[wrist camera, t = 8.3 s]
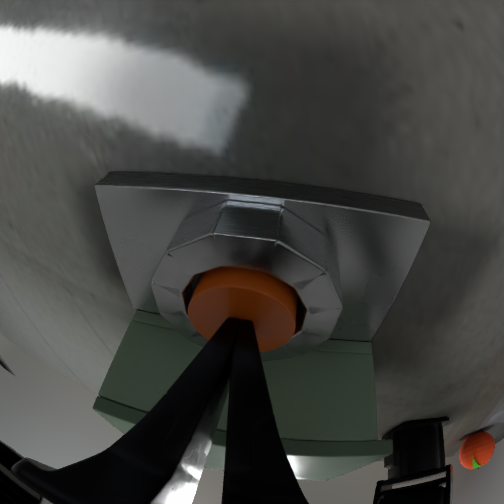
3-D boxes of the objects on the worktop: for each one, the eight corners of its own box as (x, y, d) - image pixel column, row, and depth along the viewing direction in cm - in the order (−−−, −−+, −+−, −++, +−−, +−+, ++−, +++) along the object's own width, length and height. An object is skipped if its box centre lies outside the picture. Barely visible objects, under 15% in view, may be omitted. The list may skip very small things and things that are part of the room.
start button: (304, 255, 9) (304, 295, 8) (290, 322, 12) (287, 358, 10) (197, 242, 10) (180, 278, 8) (205, 310, 12) (194, 344, 11)
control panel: (421, 203, 9) (450, 256, 7) (368, 322, 14) (374, 374, 12) (109, 171, 10) (65, 211, 8) (141, 291, 15) (119, 336, 13)
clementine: (451, 438, 31) (453, 476, 25) (488, 423, 27) (492, 461, 21) (462, 441, 33) (464, 474, 28) (494, 427, 29) (498, 460, 24)
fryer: (371, 341, 15) (378, 439, 10) (323, 411, 22) (319, 471, 18) (136, 309, 16) (97, 394, 12) (171, 388, 23) (154, 445, 19)
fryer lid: (393, 438, 10) (393, 453, 10) (329, 471, 18) (328, 480, 17) (96, 395, 12) (91, 408, 11) (154, 445, 19) (151, 453, 18)
